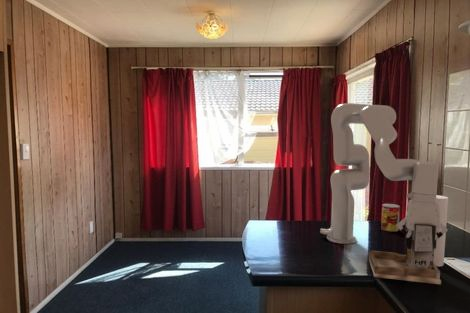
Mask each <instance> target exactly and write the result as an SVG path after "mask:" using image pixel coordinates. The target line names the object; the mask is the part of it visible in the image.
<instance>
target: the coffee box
mask: <svg viewBox="0 0 470 313" xmlns="http://www.w3.org/2000/svg"><path fill="white" fill-rule="evenodd" d="M435 234H436V226H435V225H428V224H414V231H412V234H411V236H410V237H411V249H408V248H407V247H406V254H405V255H406V263H407V264H408V265H409V267H413V268H423V269H432V270H433V260H434V247H435Z"/></svg>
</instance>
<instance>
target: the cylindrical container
mask: <svg viewBox="0 0 470 313" xmlns="http://www.w3.org/2000/svg"><path fill="white" fill-rule="evenodd" d="M436 203H438V204H439V209H440V223H442V224H443V225H444V226H445V227H446V228H447V223H448V222H447V221H448V220H447V219H448V208H449V207H448V206H449V197H448V196H445V195H438V194H437V195H436ZM440 230H441V228H440ZM446 235H447V232H446V233H444V234H443V235H442V236H441V237H440V238H438V240H437V241H436V249H434V260H433V263H434V264H435V266H436V267H437V268H438V267H443V266H445V265H444V264H445V251H446V250H445V248H446Z"/></svg>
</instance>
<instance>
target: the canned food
mask: <svg viewBox="0 0 470 313" xmlns="http://www.w3.org/2000/svg"><path fill="white" fill-rule="evenodd" d="M381 206H382V208H381V220H380V221H381V222H380V224H381V226H380V227H381V230H383V231H387V232H398V231H399V230H400V229H399V228H398V227H397V226H396V224H397V223H399V222H400V210H401V209H400V208H401V207H400V205H398V204H394V203H383V204H382V205H381Z"/></svg>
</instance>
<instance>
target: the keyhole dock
mask: <svg viewBox="0 0 470 313" xmlns="http://www.w3.org/2000/svg"><path fill="white" fill-rule="evenodd" d="M406 255H407V254H400V253H398V252H391V251H382V250H381V251H380V250H370V249H369V250H368V261H369V265H370V268H371V270H372V274H373V277H374V278H380V279H381V278H382V279H391V280H399V281H407V282H416V283H427V284H434V285H442V280H441V279H440V277H441V270H440V269H439V268H438V266H435V264H434V263H433V270H432V269H423V268H413V267H409V265H408V264H407V263H406Z"/></svg>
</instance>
